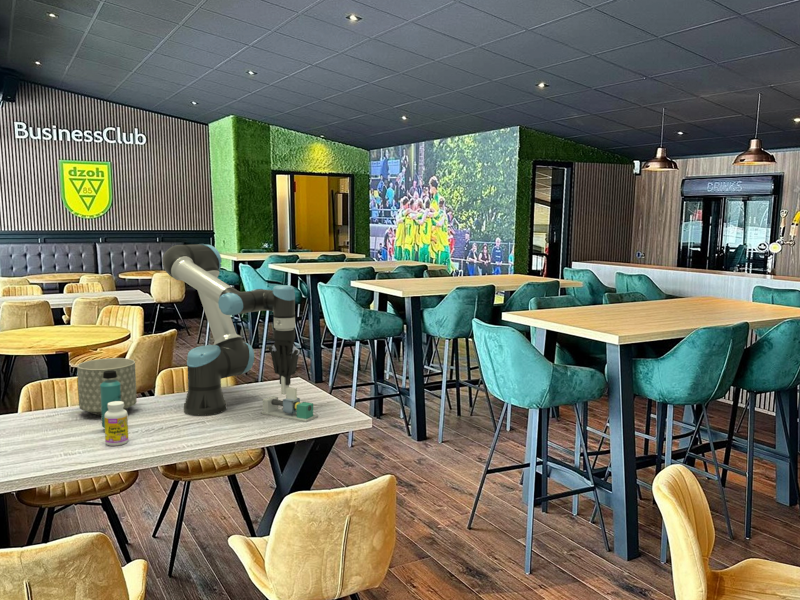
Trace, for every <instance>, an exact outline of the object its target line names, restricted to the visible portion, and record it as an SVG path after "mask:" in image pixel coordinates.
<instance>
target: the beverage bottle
mask: <svg viewBox="0 0 800 600" xmlns="http://www.w3.org/2000/svg"><path fill="white" fill-rule="evenodd" d="M116 377H117V374H116V371H114V370H109V371H105V372H104V373H103V378H105V379H111V378H116ZM120 385H121V384H120V382H118V381H117V380H106V381H104V382H103V383H102V384H101V385H100V388H101V413H102V415H100V416H101V421H100V422H101V426H102V427H101V428H104V429H105V413H106V412H107V411H108V403H110V402H114V401H121V398H122V397H121V388H120Z"/></svg>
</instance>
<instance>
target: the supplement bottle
mask: <svg viewBox="0 0 800 600" xmlns="http://www.w3.org/2000/svg"><path fill="white" fill-rule="evenodd" d="M123 407H124V402H122V401H114V402H110V403H108V411H107V412H106V413H105V428H104V441H105V444H106V445H107V446H111V447H112V446H115V447H117V446H122V445H125V444H127V443H128V442H129V419H128V418H129V417H128V416H129V415H128V413H129V412H128V411H127V409H126V410H124V409H123Z"/></svg>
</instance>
